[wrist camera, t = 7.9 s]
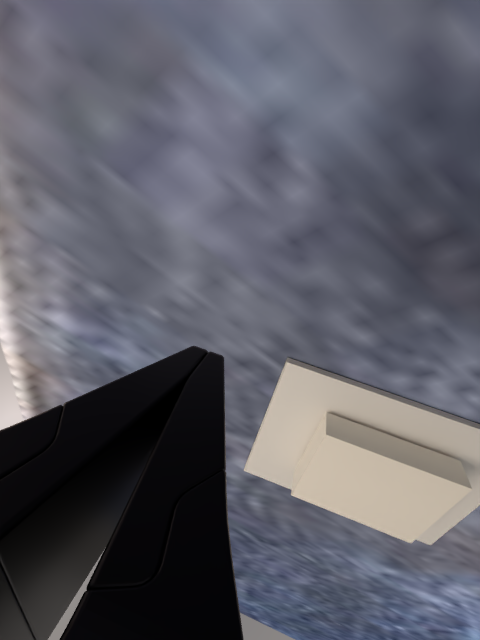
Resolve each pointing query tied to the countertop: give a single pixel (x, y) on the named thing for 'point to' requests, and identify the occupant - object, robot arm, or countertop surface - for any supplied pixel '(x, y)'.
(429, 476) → the tile
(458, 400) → the countertop surface
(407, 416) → the beige board
